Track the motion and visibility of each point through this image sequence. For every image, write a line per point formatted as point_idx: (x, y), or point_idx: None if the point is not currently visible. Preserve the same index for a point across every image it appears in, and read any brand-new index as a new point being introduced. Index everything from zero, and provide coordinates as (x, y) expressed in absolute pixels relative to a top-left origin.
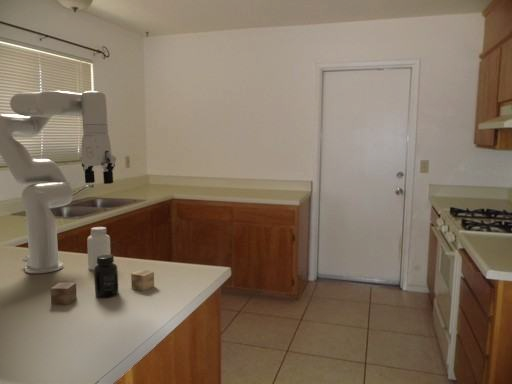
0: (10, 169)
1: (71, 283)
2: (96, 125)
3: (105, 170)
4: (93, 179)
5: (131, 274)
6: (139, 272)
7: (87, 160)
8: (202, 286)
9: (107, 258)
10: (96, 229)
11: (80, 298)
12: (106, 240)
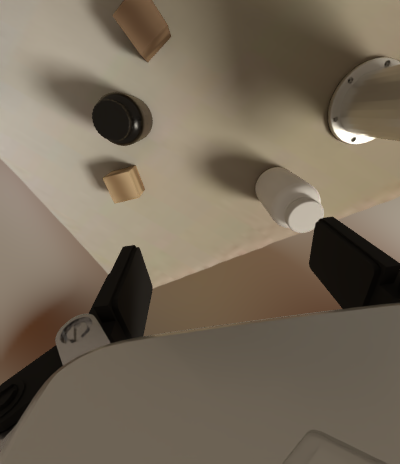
0: None
1: (142, 44)
2: None
3: (92, 324)
4: (318, 271)
5: (128, 171)
6: (125, 184)
7: (390, 386)
8: (80, 237)
9: (92, 116)
10: (297, 207)
11: (144, 69)
12: (270, 211)
